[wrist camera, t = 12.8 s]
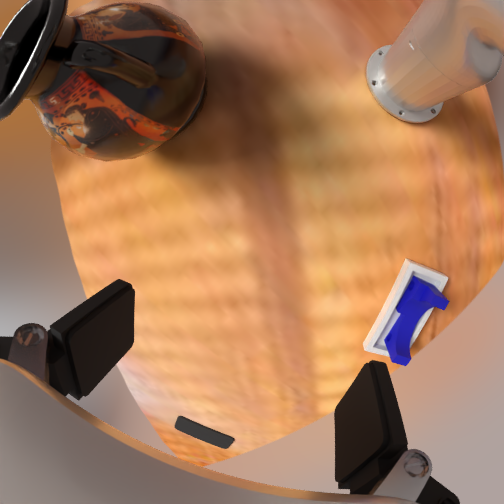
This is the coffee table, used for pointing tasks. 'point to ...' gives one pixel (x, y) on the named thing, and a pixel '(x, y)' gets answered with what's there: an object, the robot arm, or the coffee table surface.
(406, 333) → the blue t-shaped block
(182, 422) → the phone
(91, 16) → the amphora vase
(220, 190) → the coffee table surface
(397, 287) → the tray
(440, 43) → the robot arm
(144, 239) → the coffee table surface
